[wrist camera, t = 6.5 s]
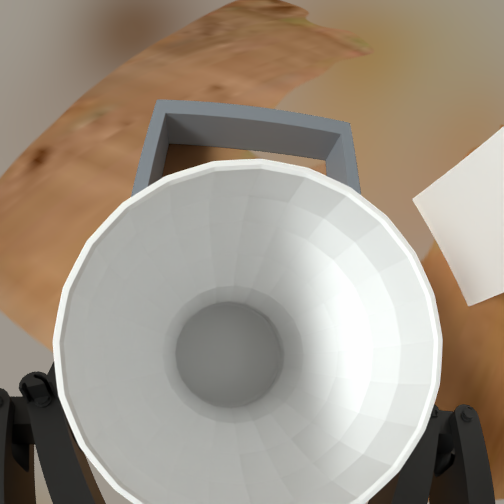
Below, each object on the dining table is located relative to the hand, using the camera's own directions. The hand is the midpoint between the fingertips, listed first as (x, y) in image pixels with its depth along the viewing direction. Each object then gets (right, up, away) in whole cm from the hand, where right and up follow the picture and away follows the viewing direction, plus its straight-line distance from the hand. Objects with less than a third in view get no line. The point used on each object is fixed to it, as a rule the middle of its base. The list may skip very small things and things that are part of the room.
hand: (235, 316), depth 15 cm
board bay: (0, +9, +11) cm, 14 cm away
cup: (-1, -4, +5) cm, 7 cm away
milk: (+24, +5, +13) cm, 28 cm away
